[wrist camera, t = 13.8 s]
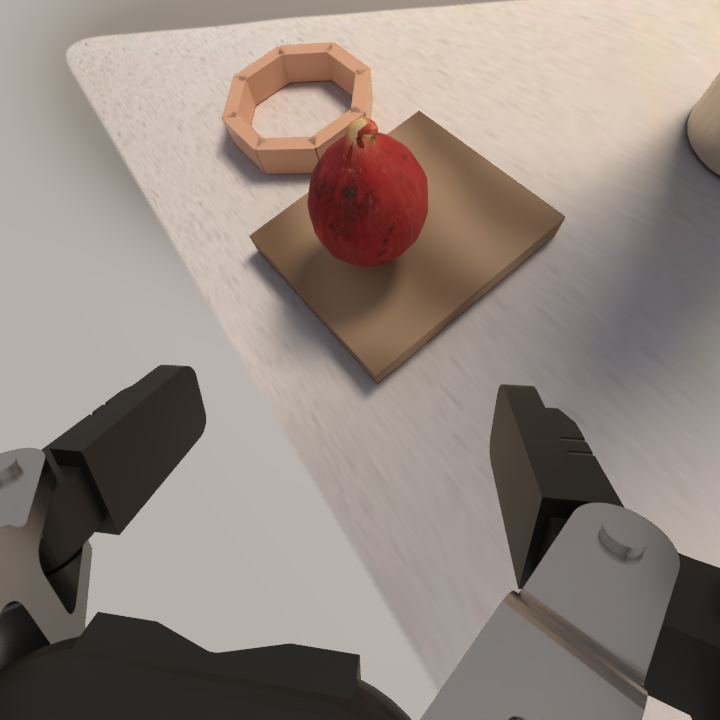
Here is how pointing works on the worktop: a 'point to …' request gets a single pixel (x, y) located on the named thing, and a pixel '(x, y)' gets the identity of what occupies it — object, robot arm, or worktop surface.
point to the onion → (367, 197)
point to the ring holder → (274, 75)
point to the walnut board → (415, 253)
